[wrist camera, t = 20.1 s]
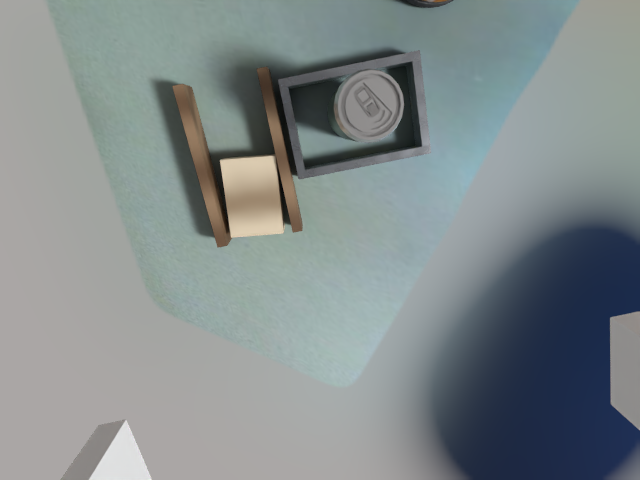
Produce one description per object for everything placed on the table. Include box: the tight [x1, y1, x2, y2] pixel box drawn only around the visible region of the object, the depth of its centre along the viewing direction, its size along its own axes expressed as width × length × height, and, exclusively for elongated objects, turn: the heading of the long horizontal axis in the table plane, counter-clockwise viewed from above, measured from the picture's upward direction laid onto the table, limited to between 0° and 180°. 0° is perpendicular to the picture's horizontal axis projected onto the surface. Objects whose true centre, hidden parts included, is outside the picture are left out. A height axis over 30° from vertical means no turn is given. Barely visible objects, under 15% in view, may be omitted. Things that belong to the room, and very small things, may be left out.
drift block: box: [220, 154, 285, 238], centre depth 41 cm, size 8×6×3 cm
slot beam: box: [172, 67, 302, 247], centre depth 40 cm, size 16×9×3 cm, turn 11°
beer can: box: [327, 69, 404, 143], centre depth 34 cm, size 5×5×12 cm
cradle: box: [278, 50, 431, 179], centre depth 39 cm, size 14×10×2 cm
